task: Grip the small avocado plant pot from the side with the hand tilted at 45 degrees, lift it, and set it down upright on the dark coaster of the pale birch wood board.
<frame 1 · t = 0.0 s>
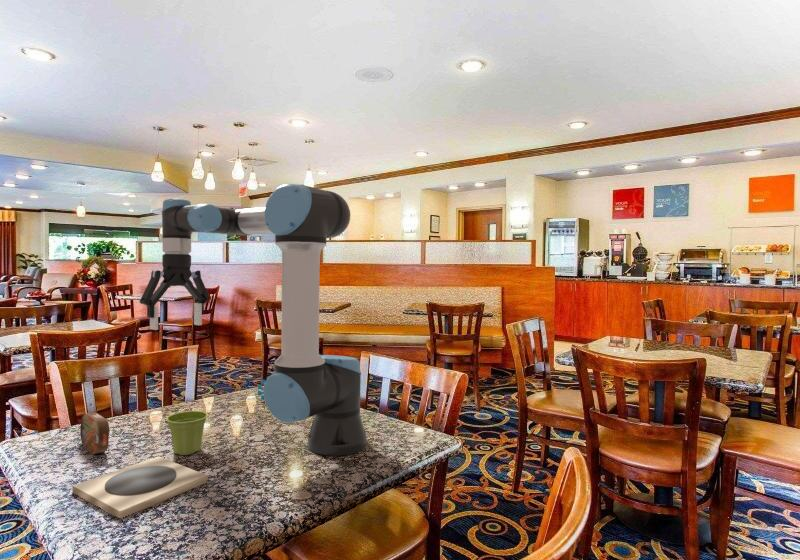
hand: (176, 327, 138), 28 cm above the table, tool pointing down, fingers open, 13 cm apart
tin: (94, 449, 119), on the table
gear: (273, 400, 165), on the table
serving board: (141, 487, 99), on the table
plant pot: (187, 451, 118), on the table
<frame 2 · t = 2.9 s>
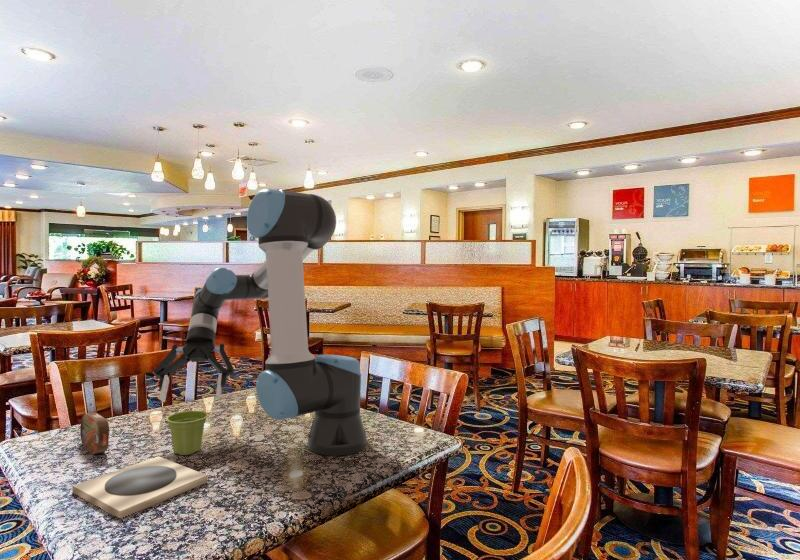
hand: (190, 398, 125), 11 cm above the table, tool tilted 45°, fingers open, 13 cm apart
nothing on the table moved.
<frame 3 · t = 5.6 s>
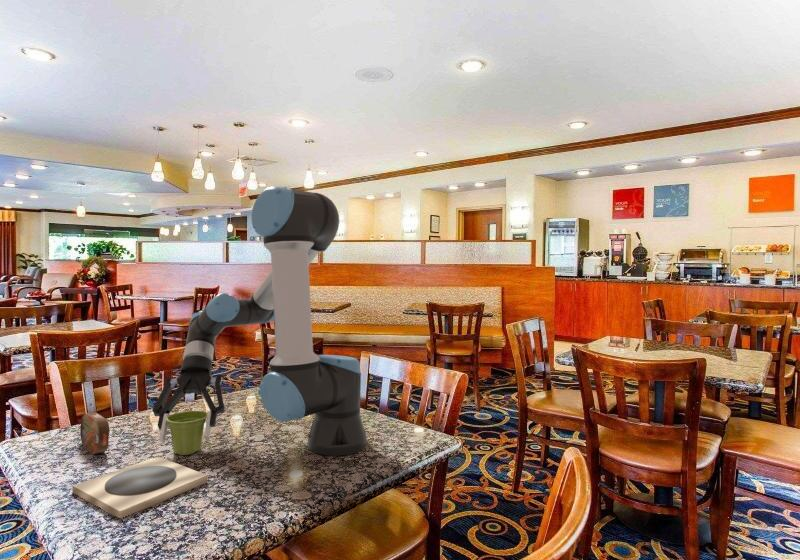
hand: (184, 439, 115), 4 cm above the table, tool tilted 45°, fingers closed on plant pot, 9 cm apart
plant pot: (187, 451, 118), on the table, touching gripper
everything else where it was.
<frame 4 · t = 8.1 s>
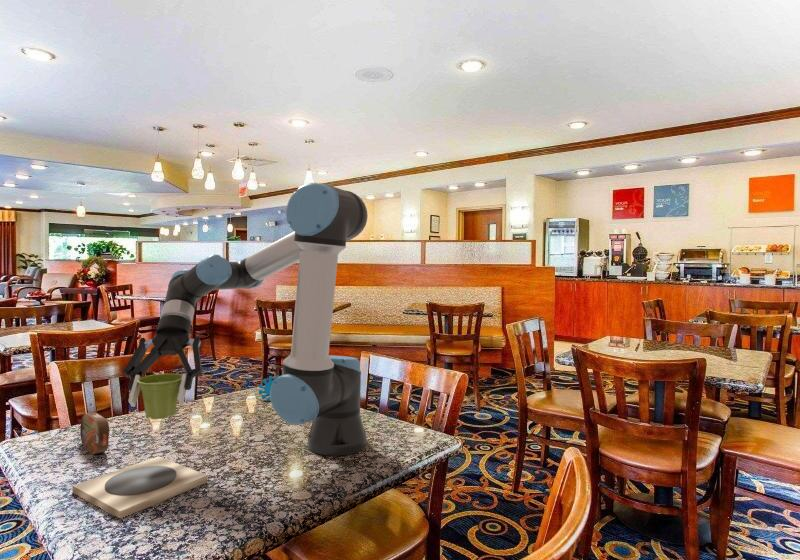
hand: (156, 402, 106), 15 cm above the table, tool tilted 45°, fingers closed on plant pot, 9 cm apart
plant pot: (161, 416, 110), point 11 cm above the table, touching gripper
everything else where it was.
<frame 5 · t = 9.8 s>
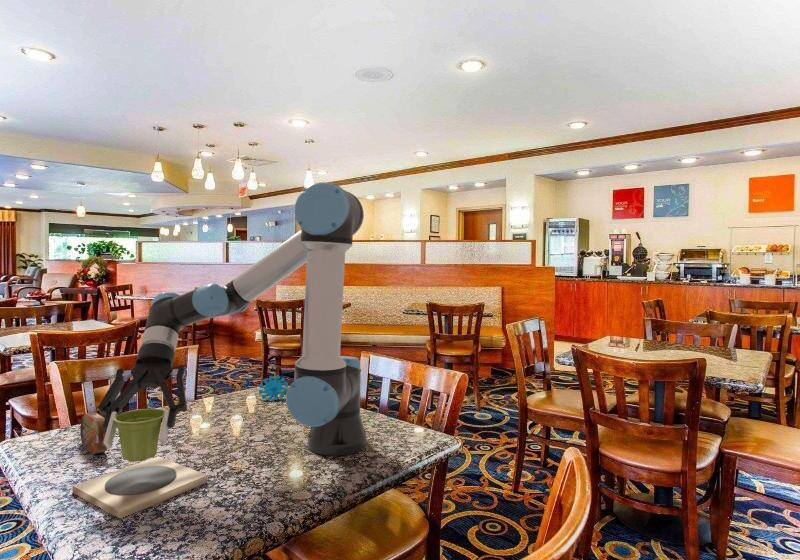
hand: (135, 443, 95), 10 cm above the table, tool tilted 45°, fingers closed on plant pot, 9 cm apart
plant pot: (139, 457, 99), point 6 cm above the table, touching gripper
when the fingers open (7 cm above the table, at t = 10.9 s): plant pot drops 1 cm, resting on serving board.
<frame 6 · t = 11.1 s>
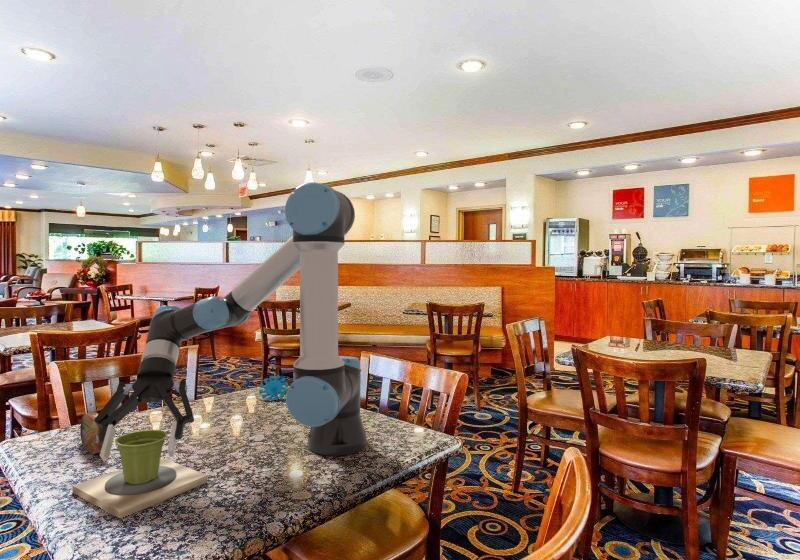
hand: (137, 456, 96), 8 cm above the table, tool tilted 45°, fingers open, 11 cm apart
plant pot: (141, 479, 99), point 2 cm above the table, touching serving board
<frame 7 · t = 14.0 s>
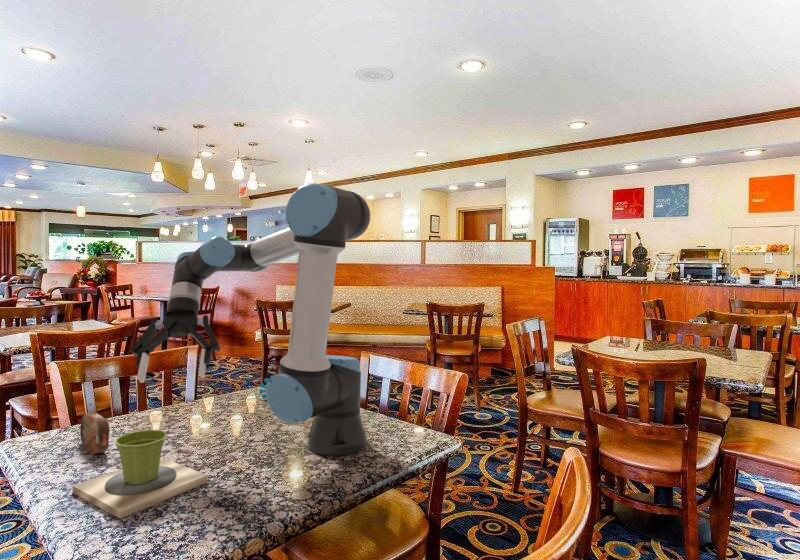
hand: (171, 378, 113), 19 cm above the table, tool tilted 40°, fingers open, 13 cm apart
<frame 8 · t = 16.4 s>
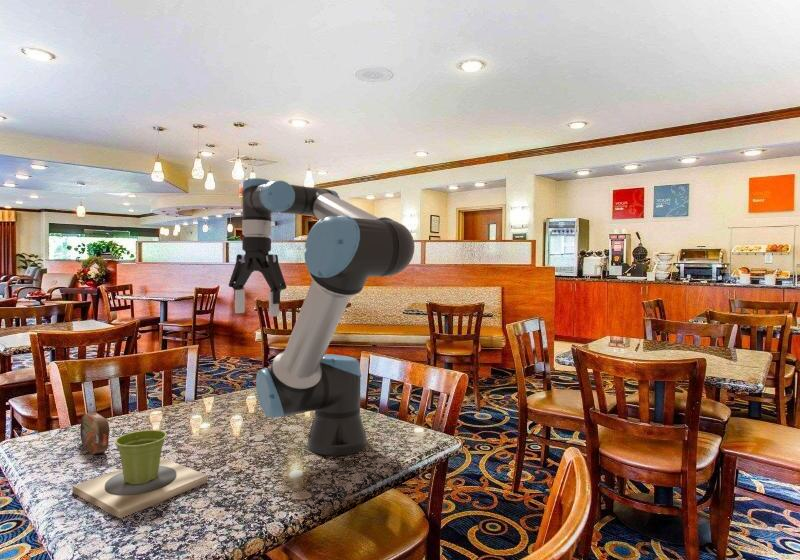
hand: (256, 314, 131), 33 cm above the table, tool pointing down, fingers open, 13 cm apart
at the end: plant pot inside the target area on the serving board (0.1 cm from its centre), point 1.6 cm above the serving board's base; plant pot tilted 0°; the gripper is holding nothing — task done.
